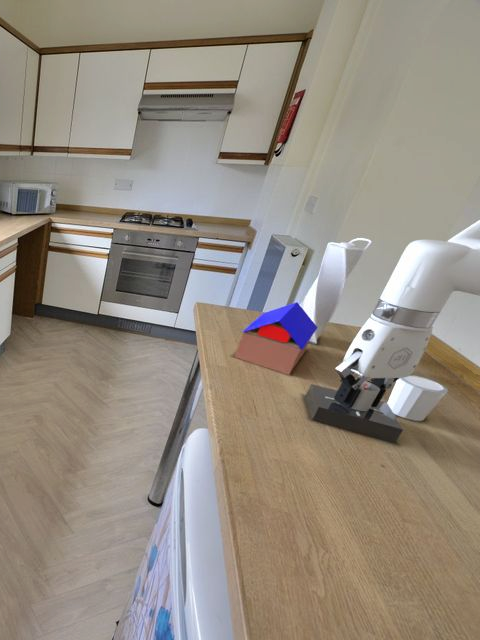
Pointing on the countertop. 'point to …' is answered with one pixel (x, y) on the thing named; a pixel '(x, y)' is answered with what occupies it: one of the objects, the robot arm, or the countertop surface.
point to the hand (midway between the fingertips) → (354, 402)
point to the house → (277, 338)
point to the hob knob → (366, 396)
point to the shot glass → (415, 397)
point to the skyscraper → (330, 283)
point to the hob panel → (353, 415)
